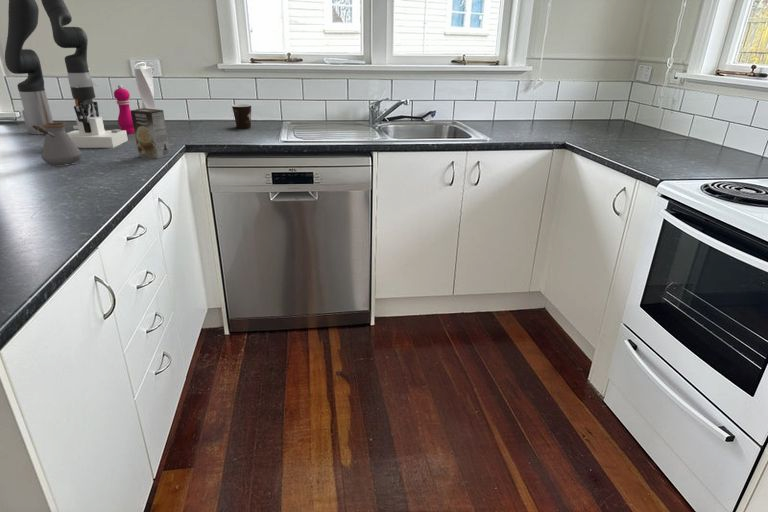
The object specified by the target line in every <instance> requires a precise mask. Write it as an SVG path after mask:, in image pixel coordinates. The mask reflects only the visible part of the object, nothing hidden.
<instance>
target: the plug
mask: <svg viewBox="0 0 768 512" xmlns="http://www.w3.org/2000/svg"><path fill="white" fill-rule="evenodd" d="M75 120H76V125H73V126H72V128H73V129H75V130H79V133H80V135H100V134H102V133H105V130H106V129H105V126H104V121H103V117H102V116H99V117H89V123H90V127H91V133H85V130H84V126H83V123H82V122H79V121H78V119H77V118H76V119H75Z"/></svg>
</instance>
